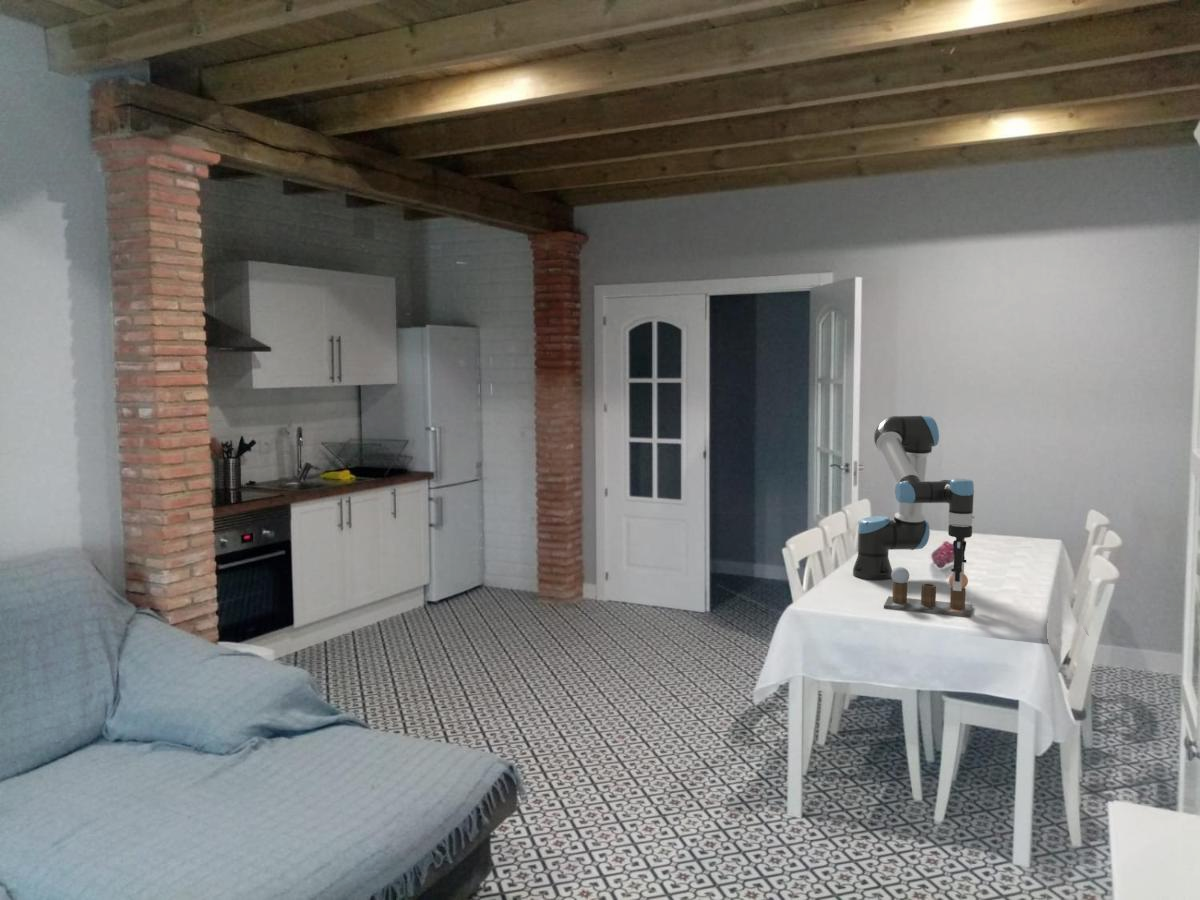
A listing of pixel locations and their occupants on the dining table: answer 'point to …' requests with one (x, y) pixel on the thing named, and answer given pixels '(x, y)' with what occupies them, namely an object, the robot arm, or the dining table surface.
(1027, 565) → the dining table surface
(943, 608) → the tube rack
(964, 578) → the ball terracotta
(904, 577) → the ball grey
